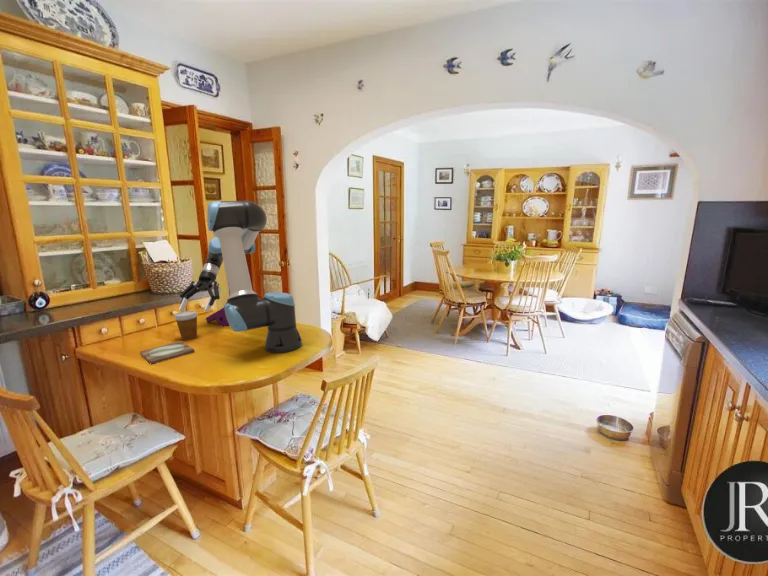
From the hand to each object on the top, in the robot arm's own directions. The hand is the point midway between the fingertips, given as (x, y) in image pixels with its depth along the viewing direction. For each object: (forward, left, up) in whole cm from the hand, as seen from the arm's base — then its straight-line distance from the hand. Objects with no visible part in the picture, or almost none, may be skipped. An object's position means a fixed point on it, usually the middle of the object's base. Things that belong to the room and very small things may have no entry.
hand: (193, 311), depth 176 cm
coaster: (-17, +18, -11) cm, 27 cm away
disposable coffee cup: (-4, +5, -11) cm, 13 cm away
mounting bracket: (+9, -16, -12) cm, 21 cm away
